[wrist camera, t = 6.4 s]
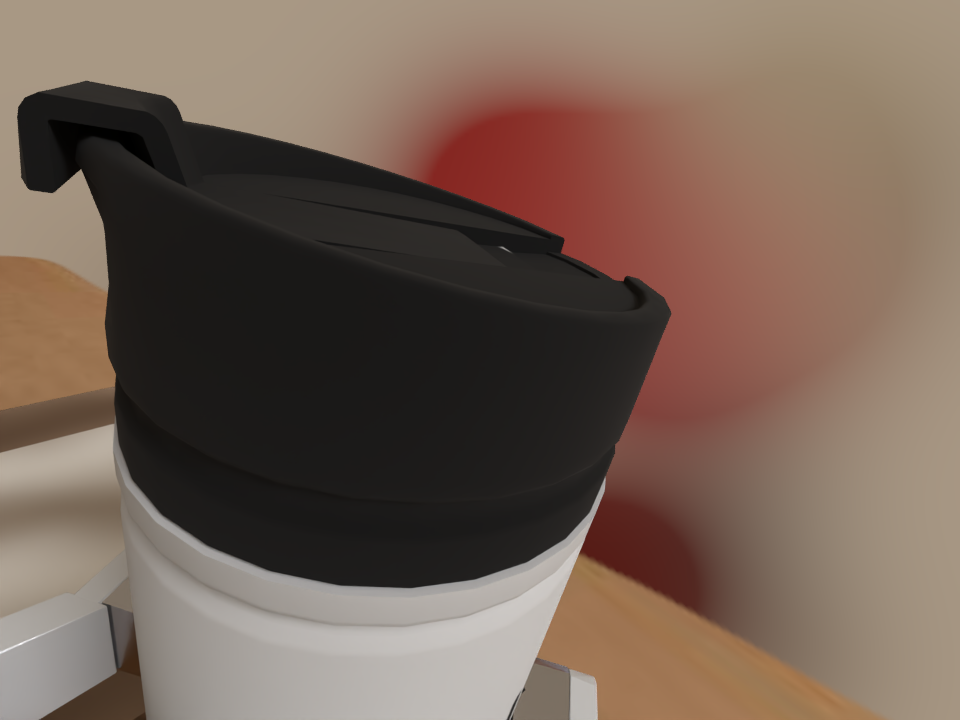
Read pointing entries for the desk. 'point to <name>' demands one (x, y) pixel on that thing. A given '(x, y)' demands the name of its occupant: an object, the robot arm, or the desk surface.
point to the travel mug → (338, 416)
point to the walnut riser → (63, 522)
